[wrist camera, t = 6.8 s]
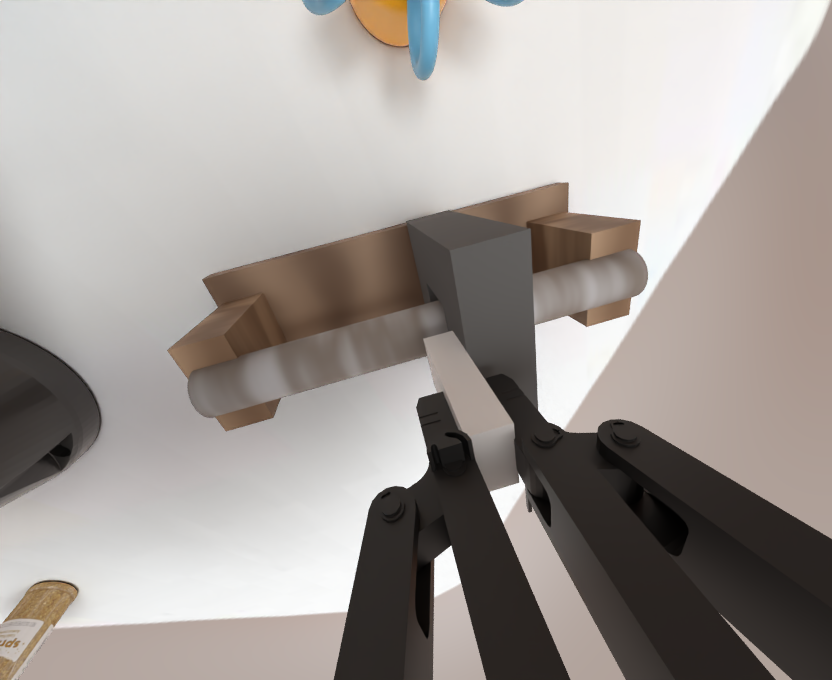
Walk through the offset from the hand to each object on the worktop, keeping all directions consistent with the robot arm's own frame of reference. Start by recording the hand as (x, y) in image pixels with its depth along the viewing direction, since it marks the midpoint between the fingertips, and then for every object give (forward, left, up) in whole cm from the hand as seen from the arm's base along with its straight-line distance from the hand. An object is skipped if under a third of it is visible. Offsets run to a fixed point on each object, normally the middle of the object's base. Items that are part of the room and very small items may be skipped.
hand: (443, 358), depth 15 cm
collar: (+2, 0, -9) cm, 9 cm away
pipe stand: (0, 0, -12) cm, 12 cm away
